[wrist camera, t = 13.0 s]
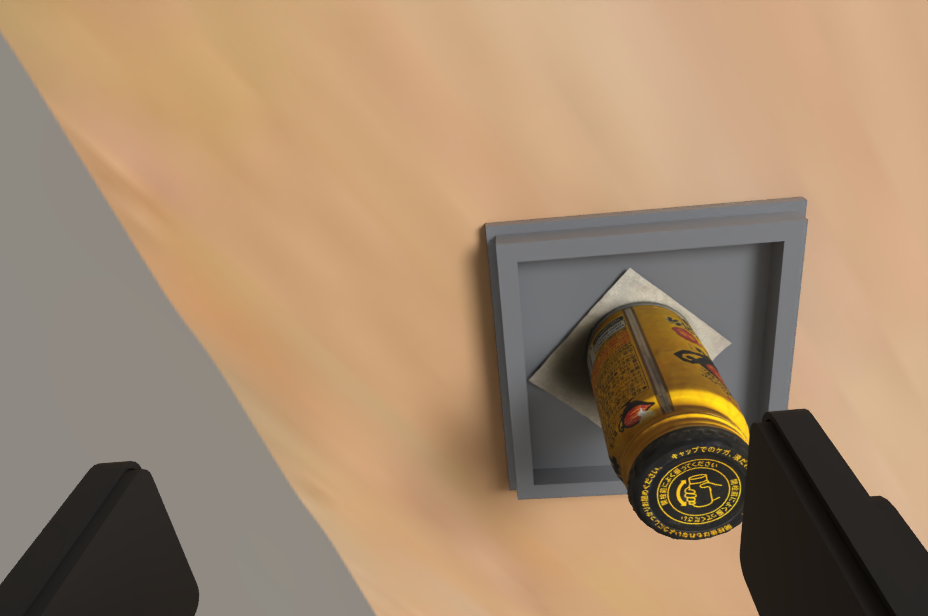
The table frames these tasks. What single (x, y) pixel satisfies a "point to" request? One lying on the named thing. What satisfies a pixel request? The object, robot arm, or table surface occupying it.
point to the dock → (669, 269)
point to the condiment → (657, 407)
